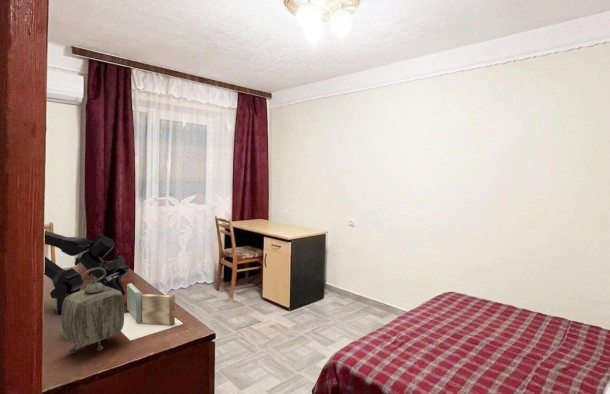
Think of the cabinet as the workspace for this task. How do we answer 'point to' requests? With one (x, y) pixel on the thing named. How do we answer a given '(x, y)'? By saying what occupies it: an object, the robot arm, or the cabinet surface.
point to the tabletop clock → (92, 313)
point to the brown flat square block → (158, 309)
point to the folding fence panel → (134, 302)
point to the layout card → (142, 327)
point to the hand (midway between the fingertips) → (124, 295)
